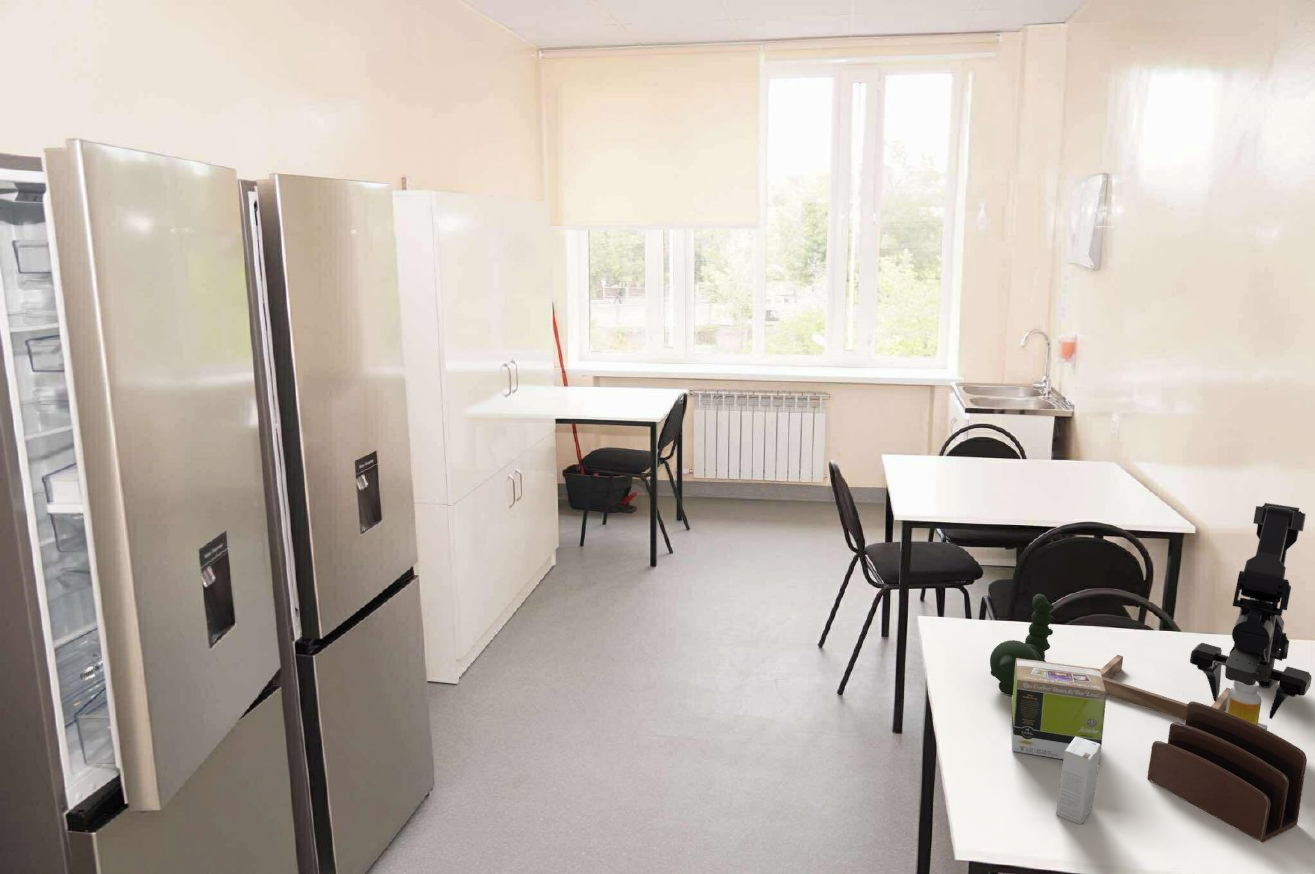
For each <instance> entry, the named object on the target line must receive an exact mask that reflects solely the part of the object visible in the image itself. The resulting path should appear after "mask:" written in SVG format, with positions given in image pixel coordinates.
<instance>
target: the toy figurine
mask: <svg viewBox="0 0 1315 874" xmlns="http://www.w3.org/2000/svg"><path fill="white" fill-rule="evenodd" d="M1031 607H1032V608H1033V610H1034V611H1033V613H1032V614H1031V621H1032V622H1031V623H1030V624H1029V627H1028V634H1027V636H1026V637H1025V640H1024V641H1025V642H1022V641H1020V640H1013V639H1012V640H1011V639H1010V640H1009V639H1008V640H1005V641H1003V642H1000V643H999V644H998V645H996V647H995V648H993V650H992V652H991V654H990V658H989V664H990V665H989V666H990V675H991V676H992V677H994V678H996V679H997V680H998V681H999V683H998V690H999V691H1000V692H1001V693H1003V694H1005V695H1007V696H1010V697H1013V687H1014V673H1015V661H1016V658H1019V659H1026V660H1035V661H1043V662H1047V661H1046V660H1045V659H1046V653H1045V652H1046V651H1048V650H1049V649H1050V648H1051V645H1050V643H1049V640H1048V638H1049V636H1052V635H1054V630H1053V629H1052V628H1050V627H1049V625H1050V623H1052V622H1054V621H1055V618H1054V616H1053V615H1051V614H1050V613H1051V612H1052V611H1053V610H1054V607H1055V606H1054V604H1051V603H1050V602H1049V601H1048V599H1047V597H1046V596H1045V595H1044V594H1042V593H1037V594H1035V595H1034V596H1033V597H1032V606H1031Z"/></svg>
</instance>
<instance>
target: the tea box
mask: <svg viewBox="0 0 1315 874" xmlns="http://www.w3.org/2000/svg"><path fill="white" fill-rule="evenodd" d="M1100 669H1101V668H1095V667H1090V666H1089V667H1088V666H1080V665H1071V664H1065V663H1058V662H1057V663H1056V662H1050V661H1046V662H1043V661H1035V660H1026V659H1019V658H1016V661H1015V673H1014V687H1013V696H1012V697H1011V698H1012V699H1011V701H1012V702H1011V709H1010V711H1011V712H1010V713H1011V714H1010V730H1011V734H1010V735H1011V750H1012V751H1013V752H1017V753H1023V754H1029V755H1034V756H1041V757H1042V756H1043V757H1048V758H1055V759H1061V760H1064V752H1065V750H1066V749H1067V747H1068V746H1069V745H1070V743H1071V742H1072V740H1073V739H1074V738H1075V737H1080V738H1083V739H1086V740H1089V741H1093V742H1096V743H1099V744H1101V747H1102V743H1103V734H1104V733H1103V732H1104V725H1105V724H1104V723H1105V713H1106V704H1107V703H1106V701H1107V694H1106V690H1105V687H1104V683H1103V679H1102V676H1101V672H1100ZM1012 751H1011V752H1012ZM1101 753H1102V750H1101V751H1100V758H1099V765H1100V763H1101V756H1102V755H1101Z"/></svg>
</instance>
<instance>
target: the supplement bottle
mask: <svg viewBox="0 0 1315 874" xmlns="http://www.w3.org/2000/svg"><path fill="white" fill-rule="evenodd" d="M1259 690H1260V685H1259V683H1258V682H1257V681H1256V683H1255V684H1254V685H1246V684H1244V683H1242V682H1238V681H1235V680H1233V687H1231V688H1230V690H1229V692H1228V699H1227V705H1226V710H1225V712H1227V713H1229V714H1231V715H1234V716H1236V717H1239V718H1241V719H1244V720H1246V721H1248V722H1250V723H1253V724H1255V725H1257V726H1258V723H1259V718H1260V713H1261V707H1262V695H1260V693H1259Z"/></svg>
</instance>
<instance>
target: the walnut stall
mask: <svg viewBox="0 0 1315 874" xmlns="http://www.w3.org/2000/svg"><path fill="white" fill-rule="evenodd" d="M1123 662H1124V656H1123V655H1119V654H1116V655H1115V656H1114V657H1113V658H1112V659H1111V660H1109V661H1108V662H1107V663H1106V664H1105V665H1104V666H1103V667H1102V668H1099V669H1100V672H1101V676H1102V679H1103V683H1104V687H1105V690H1106V696H1107V695H1108V696H1110V697H1114V698H1117V699H1119V700H1122V701H1126V702H1128V703H1131V704H1134V705H1137V706H1140V707H1142V708H1147V709H1149V710H1153V711H1156V712H1159V713H1161V714H1164V715H1168V716H1171V717H1174V718H1176V719H1179V720H1182V721H1186V711H1187V705H1188V703H1185V702H1182V701H1180V700H1176V699H1173V698H1171V697H1167V696H1164V695H1160V694H1157V693H1154V692H1151V691H1149V690H1145V689H1142V688H1138V687H1135V686H1133V685H1130V684H1126V683H1124V682H1123V683H1122V682H1121V681H1120V682H1119V681H1117V680H1114V679H1113V678H1114V677H1115V676H1116V675H1117V674H1118V673H1119V672H1120V671H1122V668H1123ZM1230 689H1231V688H1229V687H1225V689H1224V690H1223V691H1222V693H1220V694H1219V696H1218V700H1217V702H1215V701H1213V703H1212V704H1211V706H1210V707H1213V708H1216V709H1219V710H1221V711H1224V712H1226V705H1227V699H1228V692H1229V690H1230Z"/></svg>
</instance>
